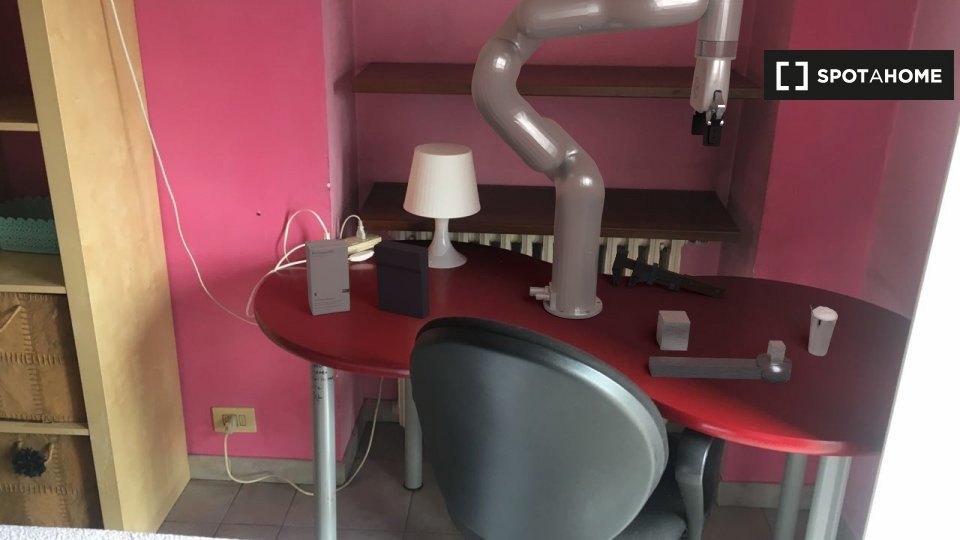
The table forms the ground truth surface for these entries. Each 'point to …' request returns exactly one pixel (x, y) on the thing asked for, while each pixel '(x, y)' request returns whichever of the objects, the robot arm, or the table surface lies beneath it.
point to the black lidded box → (402, 278)
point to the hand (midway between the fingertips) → (704, 140)
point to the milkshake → (821, 330)
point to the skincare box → (327, 276)
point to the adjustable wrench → (660, 276)
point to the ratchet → (727, 366)
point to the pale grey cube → (673, 330)
